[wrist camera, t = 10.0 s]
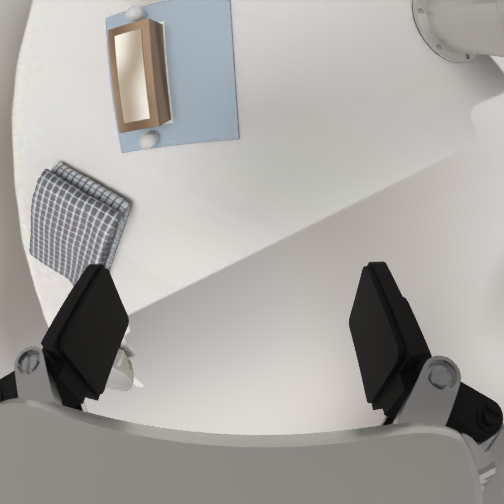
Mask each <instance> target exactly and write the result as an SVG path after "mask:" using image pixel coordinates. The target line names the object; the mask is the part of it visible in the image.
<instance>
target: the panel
mask: <svg viewBox="0 0 504 504" xmlns="http://www.w3.org/2000/svg"><path fill="white" fill-rule="evenodd" d="M148 18H149V19H152V20H154V21H156V22H158V23H160V24H163V39H164V52H165V64H166V75H167V85H168V95H169V104H170V113H171V120H169V121H168V122H166V123H164V124H162V125H161V126H159V127H152V128H146V129H141V130H135V131H130V132H125V133H119V128H118V121H117V115H116V108H115V101H114V94H113V86H112V77H111V68H110V57H109V44H108V30H110V29H113V28H116V27H119V26H122V25H126V24H129V23H133V22H136V21H140V20H144V19H148ZM106 36H107V50H108V62H109V72H110V81H111V89H112V97H113V104H114V111H115V117H116V123H117V129H118V135H119V141H120V146H121V151H122V153H125V152H131V151H137V150H144V149H145V150H147V149H150V148H157V147H165V146H173V145H181V144H190V143H200V142H211V141H223V140H238V139H239V131H238V116H237V101H236V86H235V71H234V56H233V40H232V24H231V8H230V0H167V1H163V2H158V3H154V4H150V5H146V6H143V7H139V8H137V7H134V6H133V7H130V8H128V9H127V10H126V11H125V12H122V13H119V14H116V15H113V16H110V17H107V18H106Z"/></svg>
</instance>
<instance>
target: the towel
mask: <svg viewBox="0 0 504 504" xmlns="http://www.w3.org/2000/svg"><path fill="white" fill-rule="evenodd" d="M31 208H32V209H31V239H30V254H31V255H32V256H34V257H35V258H36V259H38V260H39V261H41V262H42V263H44V264H45V265H46V266H49V267H50V268H51V269H54V270H55V271H56V272H58V273H60V274H61V275H63V276H65V277H66V278H67V279H69V280H70V282H71V283H72V284H73V286H75V284H76V282H77V281H78V279H79V278H80V276H81V275H82V273H83V272H84V270H85V269H86V267H87V266H88V265H89V264H103V265H104V266H105V268H107V269H108V270H109V269H110V267H111V264H112V261H113V258H114V255H115V253H116V249H117V246H118V243H119V240H120V237H121V235H122V232H123V229H124V226H125V222H126V220H127V218H128V214H129V211H130V208H131V205H130V204H129V203H128V202H127V201H125V200H124V199H123V198H121V197H119V196H118V195H117V194H114V193H113V192H111V191H109V190H107V189H106V188H104V187H102V186H101V185H100V184H98V183H96V182H95V181H93V180H90V179H89V178H88V177H85V176H83V175H82V174H79V173H78V172H76V171H74V170H73V169H71V168H70V167H69V166H67V165H65V164H64V163H62V162H59V163H58V164H57V165H56V166H54V167H53V168H52V170H51V171H50V170H48V169H45V170H44V172H43V173H42V175H41V177H40V178H39V179H38V181H37V185H36V188H35V192H34V194H33V199H32V207H31Z"/></svg>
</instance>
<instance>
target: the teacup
mask: <svg viewBox="0 0 504 504" xmlns="http://www.w3.org/2000/svg"><path fill="white" fill-rule="evenodd" d="M133 378H134V376H133V368H132V364H131V362H130V360H129V358H128V357H127V355H126V353H125V352H124V350H123V349H120V348H119V350H118V353H117V355H116V358H115V361H114V363H113V366H112V369H111V372H110V375H109V378H108V381H107V384H106V386H105V387H108V388H111V389H116V390H121V391H128V390H130V389H131V388H132V386H133Z"/></svg>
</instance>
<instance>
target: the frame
mask: <svg viewBox="0 0 504 504" xmlns="http://www.w3.org/2000/svg"><path fill="white" fill-rule="evenodd" d="M108 44H109V57H110V68H111V77H112V86H113V94H114V101H115V108H116V115H117V121H118V128H119V133H125V132H130V131H135V130H141V129H146V128H152V127H159V126H161V125H162V124H164V123H166V122H168V121H169V120H171V113H170V104H169V95H168V85H167V75H166V64H165V52H164V39H163V24H160V23H158V22H156V21H154V20H152V19H149V18H148V19H144V20H140V21H136V22H133V23H129V24H126V25H122V26H119V27H116V28H113V29H110V30H108Z"/></svg>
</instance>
